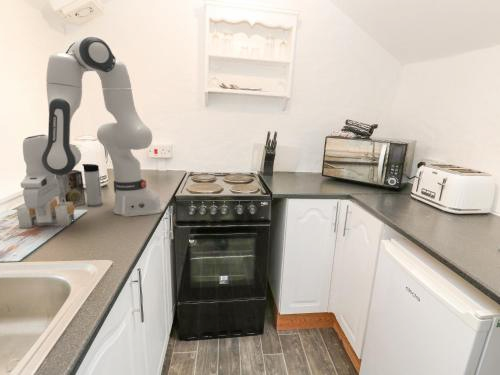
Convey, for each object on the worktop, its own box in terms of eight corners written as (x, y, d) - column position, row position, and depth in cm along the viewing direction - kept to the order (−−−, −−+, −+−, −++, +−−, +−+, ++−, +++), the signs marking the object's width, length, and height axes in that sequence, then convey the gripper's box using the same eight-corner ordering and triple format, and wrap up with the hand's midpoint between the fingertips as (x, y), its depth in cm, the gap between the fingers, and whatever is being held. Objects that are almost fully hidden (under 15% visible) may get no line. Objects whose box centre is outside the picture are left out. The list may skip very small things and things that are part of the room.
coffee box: (78, 201, 146) (74, 169, 142) (86, 203, 142) (82, 171, 138) (59, 206, 138) (54, 172, 134) (66, 208, 135) (62, 174, 131)
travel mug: (85, 204, 141) (80, 163, 136) (99, 202, 146) (95, 162, 141) (89, 207, 137) (84, 165, 132) (104, 205, 141) (100, 163, 136)
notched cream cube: (37, 222, 113) (33, 202, 111) (44, 217, 118) (41, 198, 117) (53, 222, 114) (50, 202, 112) (60, 216, 120) (57, 197, 118)
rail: (76, 220, 121) (74, 201, 119) (70, 225, 115) (68, 206, 113) (28, 222, 118) (25, 202, 116) (19, 227, 112) (16, 207, 110)
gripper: (45, 172, 121) (50, 205, 125) (17, 184, 102) (24, 222, 105) (62, 172, 122) (66, 204, 126) (37, 184, 103) (43, 221, 106)
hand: (47, 212), depth 115 cm, fingers closed on notched cream cube, 6 cm apart
